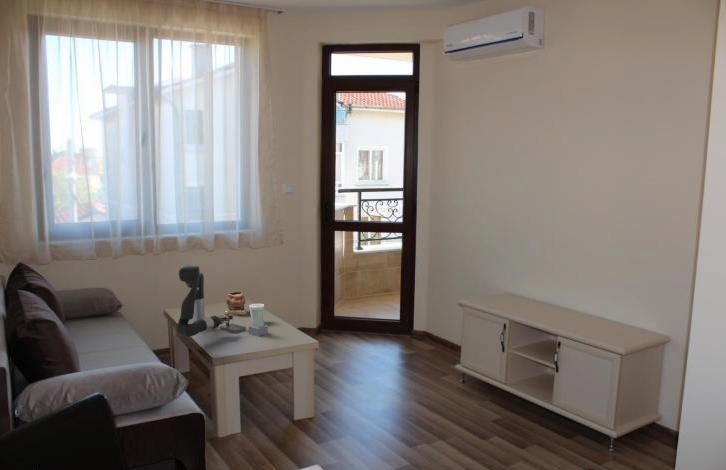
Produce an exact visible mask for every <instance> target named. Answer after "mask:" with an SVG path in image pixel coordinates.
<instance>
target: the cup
mask: <svg viewBox="0 0 726 470" xmlns="http://www.w3.org/2000/svg"><path fill="white" fill-rule="evenodd" d="M248 308H249V311H250V312H249V313H250V317H251V321H252V323H253V311H252V310H253V309H256V308H260V309H265V304H263V303H251V304H249V305H248Z"/></svg>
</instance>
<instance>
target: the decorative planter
mask: <svg viewBox="0 0 726 470" xmlns="http://www.w3.org/2000/svg"><path fill="white" fill-rule="evenodd" d="M225 301H226V306H227V307H228V310H229V311H240V310H245V304H246V299H245V296H244V294H243V292H242V291H234V292H229V293H228V294H227V297H226V300H225Z"/></svg>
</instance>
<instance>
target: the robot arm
mask: <svg viewBox="0 0 726 470" xmlns="http://www.w3.org/2000/svg"><path fill="white" fill-rule="evenodd" d="M178 277H179V280H180V281H181V282H183V283H185V285H186V287H187V288H190V290H189V292H188V293H187V294H186V296H185V297H184V299H183V300H182V302H181V307H180V316H179V319H178V321H177V326H176V331H177V334H178V335H180V336H183V337H194V336H196V335H198V334H199V333H203V332H207V331H212V330H214V329H218V328H219V326H220V325H223V324H225V325H226V324H228V323H229V324H230V321H231V320H233V319H234V315H229V316H226V315H219V316H218V315H211V316H205V315H206V314H205V293H204V291H205V290H204V289H205V288H204V285H205V283H204V282H205V278H204V277H205V276H204V273H203V272H200V267H199V266H198V265H187V264H186V265H182V266H181V267H180V268H179V271H178Z"/></svg>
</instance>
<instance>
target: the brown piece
mask: <svg viewBox="0 0 726 470" xmlns="http://www.w3.org/2000/svg"><path fill="white" fill-rule="evenodd" d="M230 315H232V316H234V315H247V310H240V311H230V310H229V309H228V310H225V311H224V316H230ZM229 324H230V322H229V323H228V324H226V323H225V325H229Z"/></svg>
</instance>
